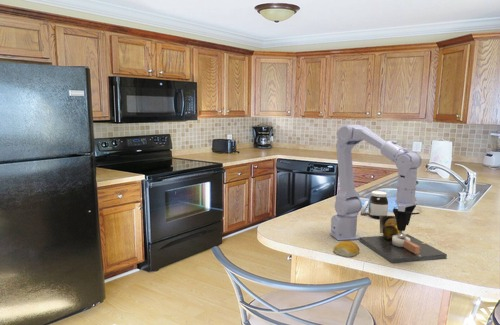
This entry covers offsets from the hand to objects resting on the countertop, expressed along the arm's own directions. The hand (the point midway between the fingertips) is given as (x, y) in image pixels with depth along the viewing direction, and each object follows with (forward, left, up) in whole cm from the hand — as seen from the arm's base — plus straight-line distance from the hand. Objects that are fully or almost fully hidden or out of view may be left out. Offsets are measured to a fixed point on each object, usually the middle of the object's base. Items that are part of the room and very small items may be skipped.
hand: (403, 227), depth 127 cm
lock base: (+4, +6, -10) cm, 13 cm away
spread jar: (+18, +47, -11) cm, 52 cm away
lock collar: (+4, +3, -8) cm, 10 cm away
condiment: (+10, +21, -6) cm, 24 cm away
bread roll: (-17, +7, -11) cm, 21 cm away
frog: (+41, +53, -11) cm, 68 cm away
